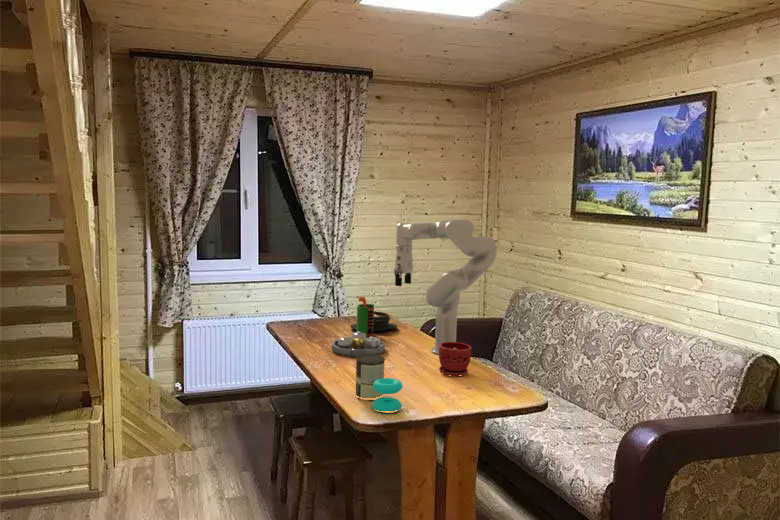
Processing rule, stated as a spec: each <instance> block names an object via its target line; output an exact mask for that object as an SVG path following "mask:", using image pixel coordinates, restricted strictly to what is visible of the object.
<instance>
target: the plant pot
mask: <svg viewBox="0 0 780 520" xmlns="http://www.w3.org/2000/svg"><path fill="white" fill-rule="evenodd" d="M449 348H451V349H449ZM453 348H457V350H455V349H453ZM471 358H472V346H471V345H470V344H467V343H465V342H458V341H456V342H443V343H441V344H440V345H439V354H438V360H439V363H440V367H438V370H439V372H440V373H441V374H442V373H443V374H442V375H444V374H445V375H444V376H447V375H451V376H450V377H452V376H459V375H464V374H465V375H467V374H468V371H469V370H468V367H469V364H470V361H471ZM466 373H467V374H466ZM465 375H464V376H465ZM459 377H460V376H459Z"/></svg>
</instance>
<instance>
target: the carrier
mask: <svg viewBox="0 0 780 520" xmlns="http://www.w3.org/2000/svg"><path fill="white" fill-rule="evenodd" d="M374 337H375V336H374ZM374 337H372V336H371V337H370V340H373V338H374ZM364 338H366V333H364V332H356V331H354V332H352V333H351V337H349V336H339V337H337V339H336V340H335V339H334V340H333V341H332V343H331V351H332V353H334V354H335V353H336V355H338V354H339V355H338V356H341V355H344V356H343V357H347V356H350V358H357V357H358V356H362V355H378V354H380V355H382V354H384V353H383V352H385V351H386V347H385V346H386V345H385V343H386V342H385V341H382V340H380V347H378V348H373V349H365V350H363V341H364ZM384 350H385V351H384ZM381 353H382V354H381ZM378 356H379V355H378Z"/></svg>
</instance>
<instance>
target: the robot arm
mask: <svg viewBox="0 0 780 520" xmlns="http://www.w3.org/2000/svg"><path fill="white" fill-rule="evenodd" d="M474 232H475V227H474V224H473V223H472V221H471V220H469V219H461V218H460V219H451V220H449V219H448V220H440V221H439V222H425V223H424V222H423V223H422V222H420V223H419V222H418V223H411V222H399V223H397V225H396V241H395V242H396V243H395V245H396V248H395V252H396V256H395V264H394V265H395V267H394V269H393V272H394V278H395V279H394V280H395V281H394V282H395V283H394V285H395V287H402V286H403V285H402V284H403V277H402V276H403V274H404V284H407V285H411V283H412V275H413V273H412V272H413V268H414V265H413V264H414V261H413V259H414V258H413V241H416V240H417V241H418V240H419V241H420V240H429V239H430V240H431V239H440V240H450V242H452V243H453V244H454V245H455V247H456V248H458V249H459V250H460V251H461V252H462V253H463V254H464V255H465V256H467V257H471V258H470V259H469V260H467V262H466V263H464V265H462V266H461V267H459V268H458V269H455V270H449V271H447V272H444V273H443V274H442V275H441V276H440V277H439V278H438V279H436V281H435V282H433V284H432V285H431V286H430V287H428V289H427V291H426V293H425V300H426V302H427V304H428V305H429V306H431V307H434V308H436V312H435V313H436V314H435V337H434V340H435V341H434V347H432V348H431V353H432V354H436V355H439V345H440V344H441V343H443V342H457V323H458V307H459V302H460V296H461V295H460V294H461V292H464V291H466V290H468V289H469V288H470V287H471V286H472V285H473V284H474V283H475V282H476V281H477V280H478V279H479V278H480V277H481V276H482V275H483V274H484V273H485V272H486V271H487V270H488V269H490V267H491V266H492V265H493V264H494V262H495V260H496V258H497V253H498V249H497V243H496V241H495V240H494V238H492V237H491V236H486V235H480V236H479V235H478V236H473V234H474ZM449 349H451V348H449ZM453 349H455V350H457V348H453Z"/></svg>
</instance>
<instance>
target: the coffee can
mask: <svg viewBox="0 0 780 520" xmlns="http://www.w3.org/2000/svg"><path fill="white" fill-rule="evenodd" d="M385 361H386V359H385V357H384V356H382V355H362V356H358V357H355V363H356V364H355V396H356V395H357V396H359V397H362V398H376V397H380V396H382V395H383V394H382V393H379V392H377V391H376V390H374V388H373V383H374V381H376V380H378V379H381V378H385Z"/></svg>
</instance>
